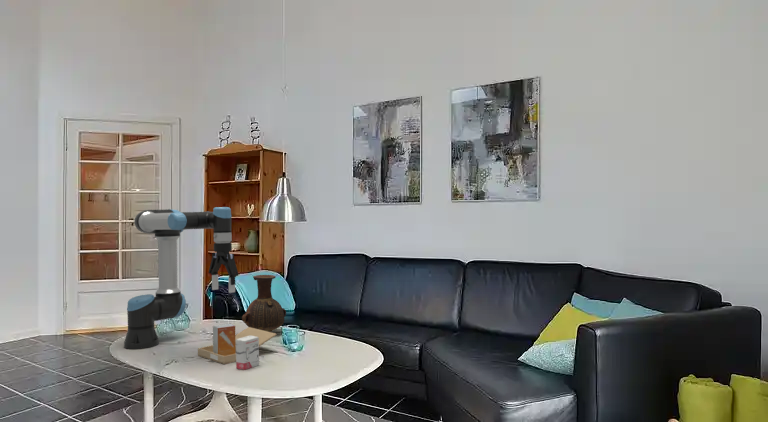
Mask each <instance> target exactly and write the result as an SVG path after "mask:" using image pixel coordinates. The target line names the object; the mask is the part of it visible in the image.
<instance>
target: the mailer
mask: <svg viewBox="0 0 768 422" xmlns="http://www.w3.org/2000/svg"><path fill="white" fill-rule="evenodd" d="M235 347H236V345H235ZM235 350H236V348H235ZM197 356H198V357H201V358H204V359H206V358H207V359H206V360H209V359H210V361H213V362H215V363H218V364H220V365H221V364H222V365H229V364H232V363H235V362H236V354H232V355H227V356H222V355H219V354H216V353H213V344H212V345H208V346H204V347H203V346H202V347H199V348H198V347H197Z"/></svg>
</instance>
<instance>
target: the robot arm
mask: <svg viewBox="0 0 768 422" xmlns="http://www.w3.org/2000/svg"><path fill="white" fill-rule="evenodd" d="M212 210H213V211H180V210H178V209H172V208H171V209H170V208H168V209H167V208H166V209H145V210H142V211H140V212H139V213H138V214H136V216H135V218H134V221H133V222H134V226H135V229H137V230H138V232H139V231H140V232H141V233H143V234H151V235H152V234H153V235H154V237H155V239H157V243H158V245H157V246H158V247H157V249H158V251H157V252H158V263H157V264H158V289H157V290H156V291H155V295H153V294H140V295H136V296H134V297H132V298H130V299H128V300H127V307H126V311H127V313H126V314H127V332H126V335H125V339H124V341H123V347H124V348H125V349H129V350H141V349H148V348H152V347H155V346H158V344H159V343H160V342H159V336H158V334H157V331H156V327H155V322H157V321H164V320H169V319H172V320H173V319H174V318H178V317H181V316H182V315H183V314H184V312H185V311H186V305H187V304H186V303H187V300H186V298H185V295H184V294H183V293H181V291H182V290H181V289H180V288H178V246H177V245H178V239H179V238H180V236H181V233H182V232H183V231H184V230H203V229H206V230H207V229H210V230H211V229H213V242H214V243H213V251H214V252H212V254H211V255H212V256H211V261H210V264H209V269H208V274H210V275H211V290H212V291H215V290H219V270H220V269H221V266H222V265H223V266H224V267H225V269H226V272H227V273H228V293H229V294H231V293H232V294H233V293H236V278H237V277H239V271H238V268H237V264H236V261H235V254H234V253H230V252H232V250H233V249H232V246H233V245H232V241H233V240H232V238H233V236H232V209H231V208H230V207H228V206H222V207H219V206H218V207H217V206H216V207H213V209H212Z"/></svg>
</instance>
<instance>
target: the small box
mask: <svg viewBox="0 0 768 422" xmlns="http://www.w3.org/2000/svg"><path fill="white" fill-rule="evenodd" d="M235 335H236V325H234V324H232V323H230V322H229V323H224V324H216V325H213V326H212V345H213V353H216V354H219V355H222V356H227V355H232V354H236V350H235V348H236V347H235V346H236V345H235Z"/></svg>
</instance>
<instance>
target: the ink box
mask: <svg viewBox="0 0 768 422" xmlns="http://www.w3.org/2000/svg"><path fill="white" fill-rule="evenodd" d="M235 346H236V366H235V368H236V369H238V370H243V371H246V370H248V369H250V368H251V369H252V368H254V367H257V366H259V365H260V349H259V348H260V346H259V337H256V336H246V337H242V338H239V339H237V340H236V345H235Z"/></svg>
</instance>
